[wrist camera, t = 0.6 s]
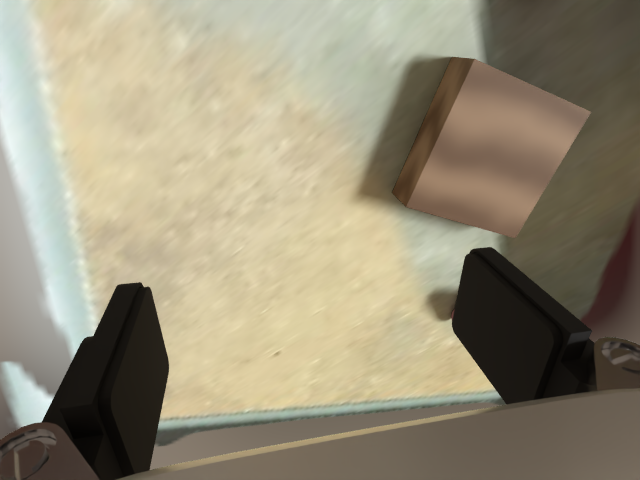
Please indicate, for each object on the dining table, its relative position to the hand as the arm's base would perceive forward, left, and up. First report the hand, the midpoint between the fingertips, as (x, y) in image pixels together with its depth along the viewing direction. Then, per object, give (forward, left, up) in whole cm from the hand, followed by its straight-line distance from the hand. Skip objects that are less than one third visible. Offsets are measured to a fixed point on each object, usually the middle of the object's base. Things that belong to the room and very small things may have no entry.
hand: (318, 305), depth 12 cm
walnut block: (-4, +22, -28) cm, 36 cm away
